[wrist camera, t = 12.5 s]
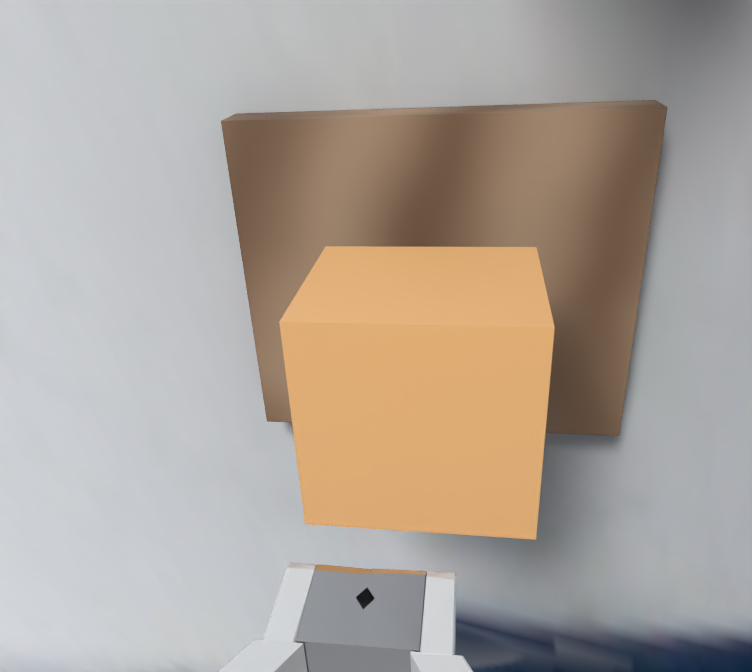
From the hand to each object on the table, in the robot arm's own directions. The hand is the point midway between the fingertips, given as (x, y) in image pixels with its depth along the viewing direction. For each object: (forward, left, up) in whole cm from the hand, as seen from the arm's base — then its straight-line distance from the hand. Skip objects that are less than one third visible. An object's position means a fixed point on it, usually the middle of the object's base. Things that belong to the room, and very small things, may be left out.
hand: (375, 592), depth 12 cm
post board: (0, 0, -15) cm, 15 cm away
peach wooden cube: (0, 0, -10) cm, 10 cm away
